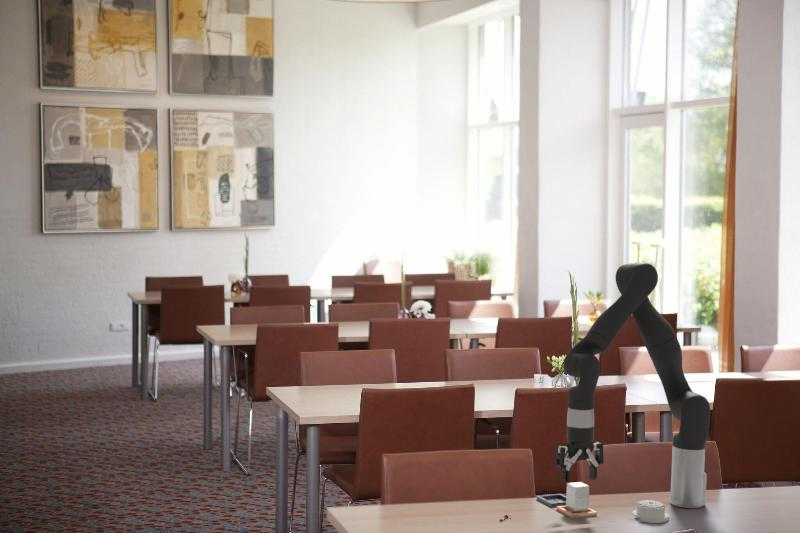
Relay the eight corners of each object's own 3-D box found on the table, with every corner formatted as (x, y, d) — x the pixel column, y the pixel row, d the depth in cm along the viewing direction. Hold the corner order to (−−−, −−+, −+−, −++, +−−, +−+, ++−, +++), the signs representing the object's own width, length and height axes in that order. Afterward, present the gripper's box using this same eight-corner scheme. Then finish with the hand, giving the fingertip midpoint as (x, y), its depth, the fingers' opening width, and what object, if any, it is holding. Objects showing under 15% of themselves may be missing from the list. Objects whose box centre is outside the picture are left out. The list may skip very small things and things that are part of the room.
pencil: (499, 522, 280) (499, 519, 280) (519, 504, 297) (519, 501, 297) (502, 522, 279) (502, 519, 279) (522, 505, 297) (522, 502, 297)
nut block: (579, 509, 289) (580, 481, 289) (588, 514, 285) (589, 486, 285) (565, 511, 287) (566, 483, 287) (574, 515, 283) (575, 487, 283)
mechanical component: (632, 522, 283) (669, 525, 281) (633, 506, 283) (670, 509, 281) (632, 512, 293) (667, 515, 291) (632, 497, 292) (668, 499, 290)
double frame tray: (561, 500, 302) (561, 493, 302) (600, 519, 283) (600, 512, 283) (535, 502, 298) (535, 496, 298) (572, 523, 280) (572, 515, 280)
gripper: (594, 419, 291) (593, 475, 292) (551, 423, 285) (550, 480, 286) (609, 424, 284) (608, 482, 285) (566, 428, 278) (565, 487, 279)
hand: (579, 481), depth 285 cm, fingers open, 8 cm apart
